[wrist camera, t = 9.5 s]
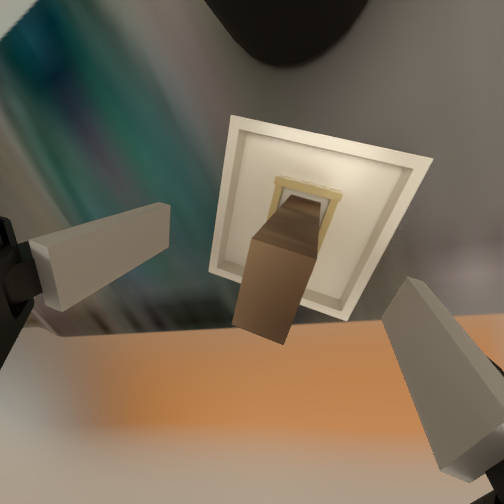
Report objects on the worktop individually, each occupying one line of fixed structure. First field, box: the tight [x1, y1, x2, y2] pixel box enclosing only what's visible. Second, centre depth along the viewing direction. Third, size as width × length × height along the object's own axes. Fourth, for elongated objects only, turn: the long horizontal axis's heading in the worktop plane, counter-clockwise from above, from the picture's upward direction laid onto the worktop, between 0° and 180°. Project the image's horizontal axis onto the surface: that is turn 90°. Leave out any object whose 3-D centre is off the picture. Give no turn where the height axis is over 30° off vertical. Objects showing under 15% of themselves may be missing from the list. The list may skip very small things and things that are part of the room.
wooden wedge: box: [232, 194, 321, 345], centre depth 15 cm, size 3×5×12 cm, turn 167°
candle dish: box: [208, 115, 433, 321], centre depth 19 cm, size 14×14×3 cm
